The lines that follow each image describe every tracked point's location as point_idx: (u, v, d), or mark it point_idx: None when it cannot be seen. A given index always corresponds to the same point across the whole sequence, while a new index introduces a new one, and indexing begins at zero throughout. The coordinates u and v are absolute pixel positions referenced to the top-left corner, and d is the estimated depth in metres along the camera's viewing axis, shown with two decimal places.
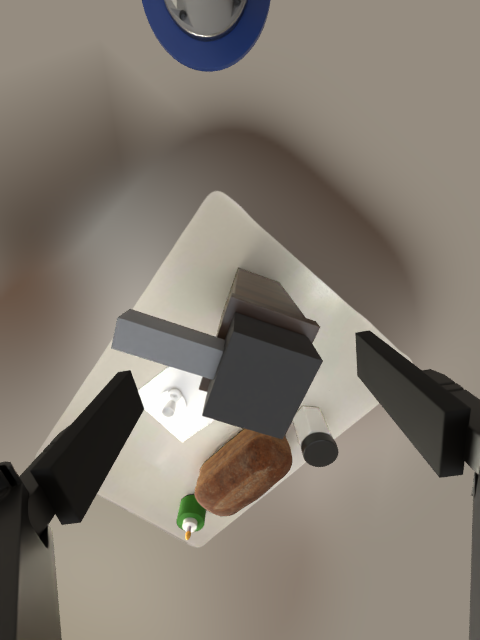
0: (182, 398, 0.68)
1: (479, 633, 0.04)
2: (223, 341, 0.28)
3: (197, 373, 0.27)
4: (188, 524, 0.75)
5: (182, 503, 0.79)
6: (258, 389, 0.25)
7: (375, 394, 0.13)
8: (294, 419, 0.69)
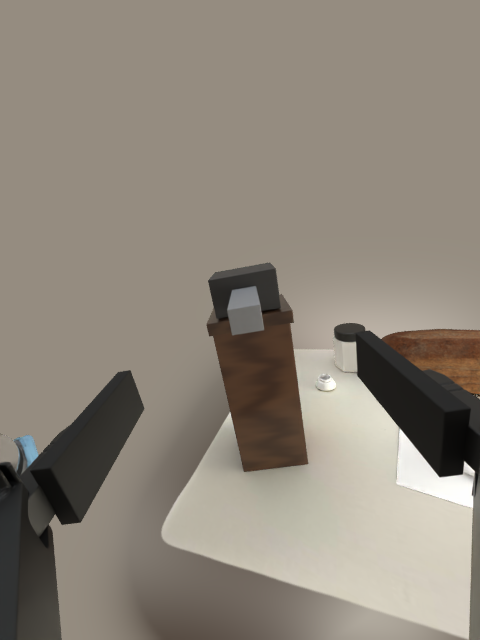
0: None
1: (479, 633, 0.04)
2: None
3: (254, 288, 0.36)
4: None
5: None
6: (242, 270, 0.41)
7: (375, 394, 0.13)
8: None
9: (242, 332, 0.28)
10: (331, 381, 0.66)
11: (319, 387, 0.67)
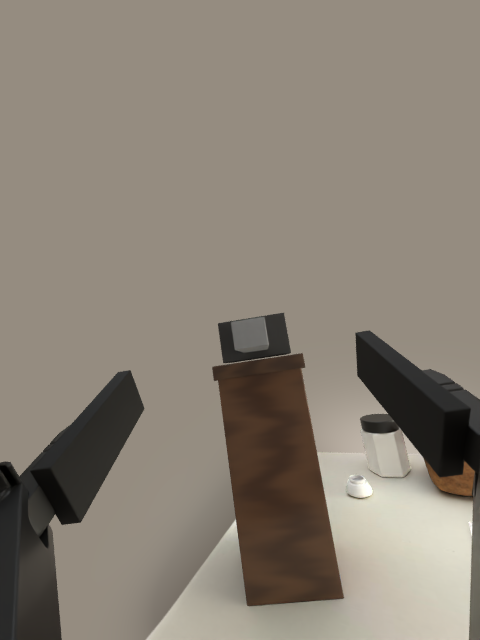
0: None
1: (479, 633, 0.04)
2: None
3: None
4: None
5: None
6: None
7: (375, 394, 0.13)
8: (400, 470, 0.57)
9: (245, 346, 0.27)
10: (365, 484, 0.52)
11: (351, 492, 0.52)
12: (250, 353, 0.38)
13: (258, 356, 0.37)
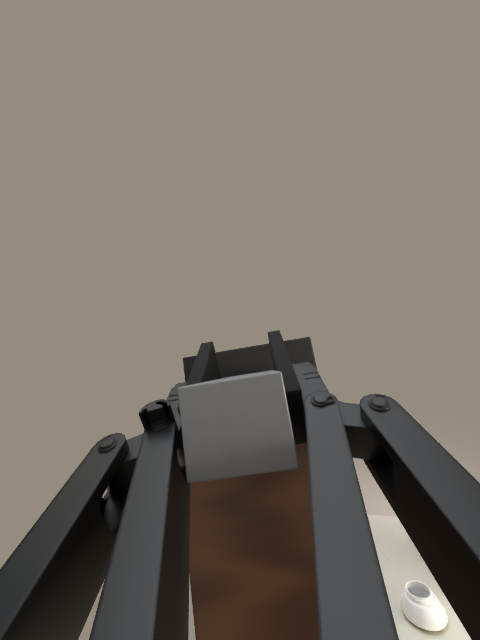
0: None
1: None
2: None
3: (270, 370, 0.17)
4: None
5: None
6: None
7: None
8: None
9: (222, 473, 0.08)
10: (435, 604, 0.33)
11: (412, 618, 0.32)
12: None
13: None
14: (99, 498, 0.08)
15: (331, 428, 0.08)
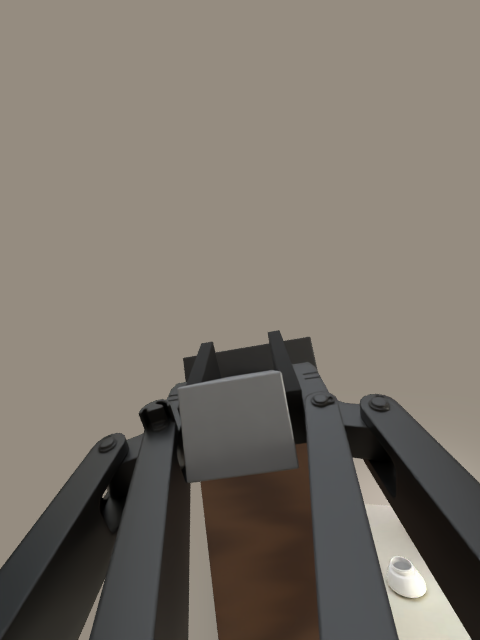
0: None
1: None
2: None
3: None
4: None
5: None
6: None
7: None
8: None
9: (222, 473, 0.08)
10: (416, 575, 0.37)
11: (395, 587, 0.37)
12: None
13: None
14: (99, 498, 0.08)
15: (331, 428, 0.08)
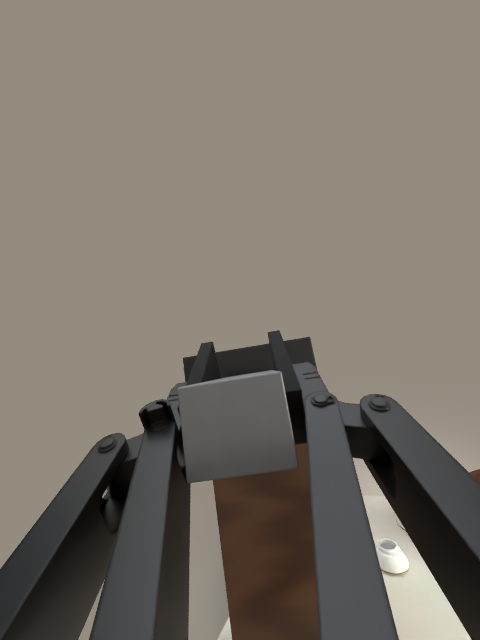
0: None
1: None
2: None
3: (270, 370, 0.17)
4: None
5: None
6: None
7: None
8: None
9: (222, 473, 0.08)
10: (399, 554, 0.41)
11: (381, 565, 0.41)
12: None
13: None
14: (99, 498, 0.08)
15: (331, 428, 0.08)
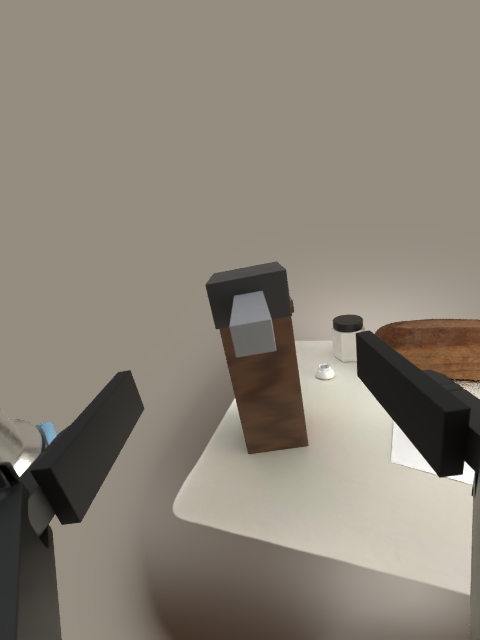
0: None
1: (479, 633, 0.04)
2: None
3: (261, 294, 0.30)
4: None
5: None
6: (245, 271, 0.35)
7: (375, 394, 0.13)
8: None
9: (249, 353, 0.22)
10: (330, 370, 0.69)
11: (318, 376, 0.70)
12: None
13: None
14: None
15: None
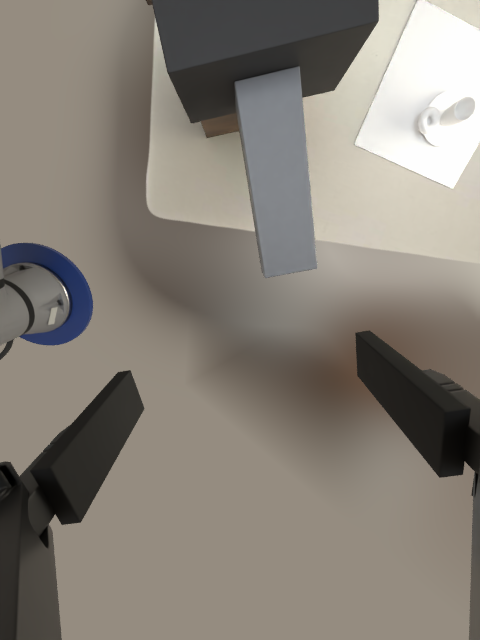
0: (432, 105, 0.42)
1: (479, 633, 0.04)
2: (235, 106, 0.16)
3: (299, 106, 0.14)
4: None
5: None
6: None
7: (375, 394, 0.13)
8: None
9: None
10: None
11: None
12: None
13: None
14: None
15: None
